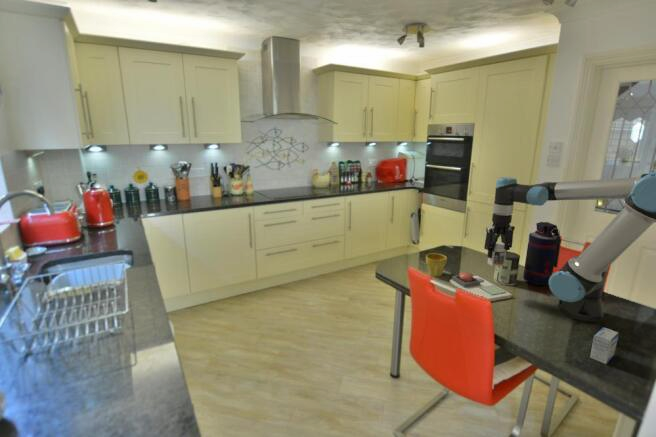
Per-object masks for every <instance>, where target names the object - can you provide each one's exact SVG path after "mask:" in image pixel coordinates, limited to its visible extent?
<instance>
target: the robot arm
mask: <svg viewBox="0 0 656 437" xmlns="http://www.w3.org/2000/svg"><path fill="white" fill-rule="evenodd" d="M591 200H593V201H594V200H595V201H599V200H600V201H601V200H623V205H624V207H623V208H622V209H621V210H620V211H619V212H618V213H617V215H616V216H615V217H614V218H613V219H612V220H611V221H610V223H608V225H606V226H605V228H604V229H603V230H602V231H601V232H600V233H599V234H598V235H597V236H596V237H595V239H593V240H592V242H590V244H588V246H586V248H585V249H584V250H583V251H582V252H581V254H580V255H578V256H573V257H572V258H569V259H568V260H567V261H566V263H565V264H564V265H563V266H562V267H561V268H560V269H559V270H558V271H555V272H552V276H551V277H550V279H549V289H550V291H551V293H552V294H553V295H554V296H555V297H556V298H557V299H559V300H558V303H557V310H558V311H559V312H560V313H561V314H563V315H565V316H567V317H569V318H571V319H574V320H576V321H577V320H578V321H582V322H586V323H587V322H588V323H598V322H601V321H602V320H604V316H605V315H604V314H605V313H604V307H603V304H602V303H603V301H602V296H603V293H604V292H603V291H604V287H605V285H606V284H605V283H606V279H607V274H608V268H610V266H611V265H612V264H613V263H614V262H615V261H616V260H617V259H618V258H620V257H621V255H622V254H623V253H625V251H626V250H628V249H629V248H630V246H632V245H633V244H634V243H635V242H636V240H638V239H639V238H640V237H641V236H642V235H643V234H644V233H645V232H646V231H647V230H649V228H650V227H651V226H652V225H654V223H656V171H652V172H649V173H642V174H640V175H639V176H636V177H621V178H618V177H617V178H603V179H587V180H572V181H571V180H569V181H558V182H555V181H554V182H551V181H547V182H546V181H545V182H542V183H535V184H531V185H530V184H522V183H521V184H520V183H518V180H517V178H515V177H499V178H497V180H496V185H495V193H494V202H493V209H492V210H493V211H492V212H493V213H492V215H491V216H492V218H491V222H492V225H491V227H486V229H485V230H486V234H485V239H484V241H485V242H484V250H486V251H487V265H489V266H492V267H493V266H494V265H493V264H494V256H495V251H494V248H495V245H496V243H497V242H498V240H499V238H500V240H501V241H500V242H502V243H504V244H505V246H504V249H505V255H504V262H503V264H505V259H506V255H507V251H511V250H510V249H512V248H513V242H514V231H515V228H516V227H515V226H514V225H511V223H512V219H513V215H512V214H513V212H514V203H520V204H527V205H531V206H539V207H540V206H541V207H542V206H543V205H545V204H546V203H547V202H549V201H550V202H551V201H552V202H553V201H591Z"/></svg>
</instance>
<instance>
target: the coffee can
mask: <svg viewBox="0 0 656 437" xmlns="http://www.w3.org/2000/svg"><path fill="white" fill-rule="evenodd" d="M520 258H521V255H520V254H518V253H516V252H513V251H509V250H507V255H506V259H505V264H503V265H502V266H494V274H493V281H494V282H495V283H497V284H501V285H502V286H503V285H504V286H515V285H516V284H517V279H518V271H519V266H520Z"/></svg>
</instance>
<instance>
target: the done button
mask: <svg viewBox="0 0 656 437" xmlns="http://www.w3.org/2000/svg"><path fill="white" fill-rule="evenodd" d="M459 275H460V276H459V279H460V280H462V281H463V282H471V281H473V276H474V274H472V273H470V272H465V271H464V272H463V271H462V272H459Z"/></svg>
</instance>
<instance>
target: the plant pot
mask: <svg viewBox="0 0 656 437" xmlns="http://www.w3.org/2000/svg"><path fill="white" fill-rule="evenodd" d="M447 260H448V258H447V256H446V255H444V254H441V253H428V254H426V255H425V263H426V266H427V271H428V275H429V276H432V277H435V278H436V277H442V276H443V272H444V269H445V266H446V265H447V262H448V261H447Z"/></svg>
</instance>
